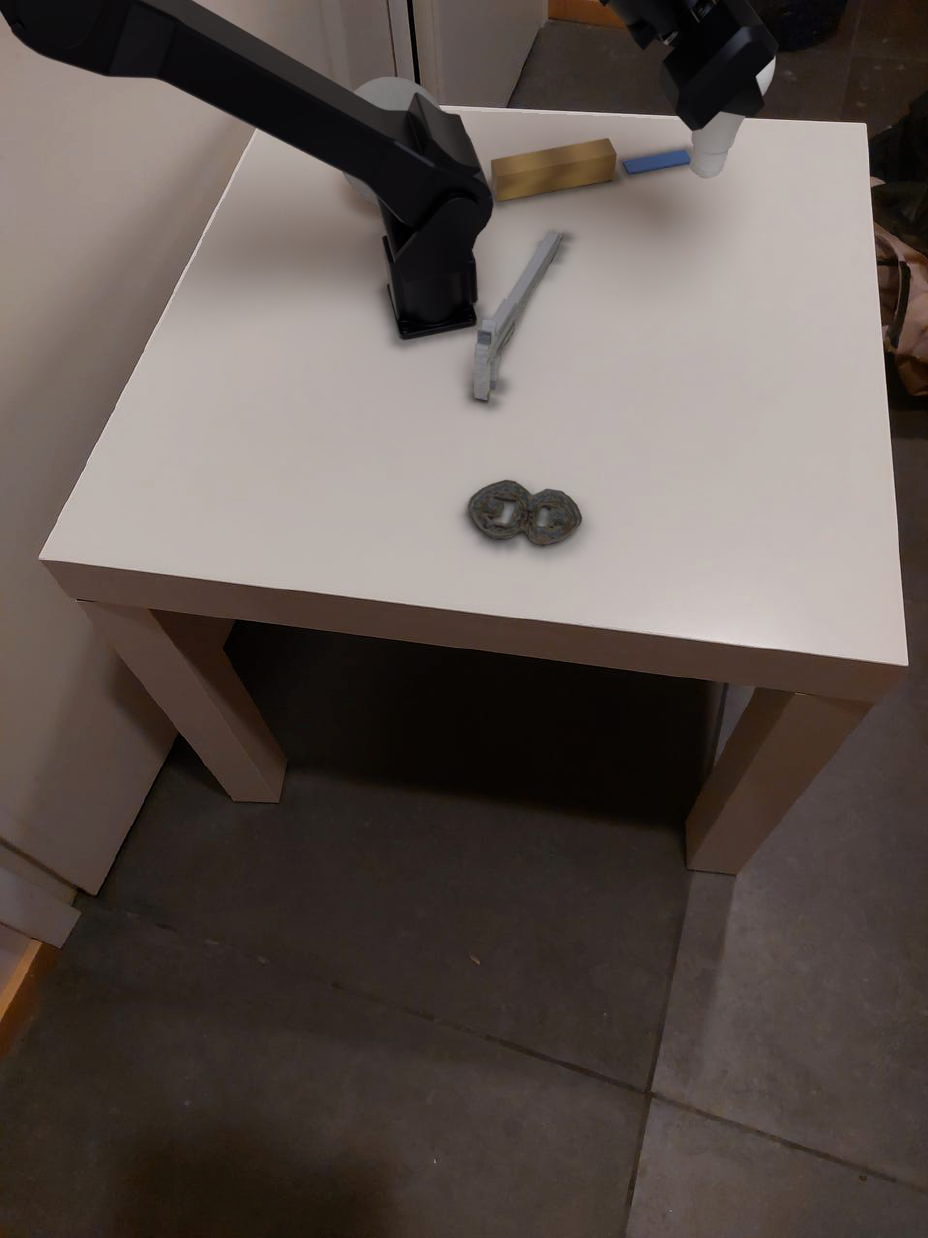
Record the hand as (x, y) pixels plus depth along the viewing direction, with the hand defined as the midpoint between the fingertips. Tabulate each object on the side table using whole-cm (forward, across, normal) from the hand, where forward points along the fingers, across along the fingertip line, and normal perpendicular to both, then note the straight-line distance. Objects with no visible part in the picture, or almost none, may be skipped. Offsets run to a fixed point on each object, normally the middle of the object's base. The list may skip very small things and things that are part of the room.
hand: (742, 85), depth 60 cm
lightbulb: (+4, 0, +6) cm, 7 cm away
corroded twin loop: (-5, -23, +25) cm, 35 cm away
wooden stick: (+3, +13, +17) cm, 21 cm away
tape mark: (+10, +13, +10) cm, 19 cm away
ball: (-6, +15, +27) cm, 31 cm away
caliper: (-1, -3, +22) cm, 22 cm away
